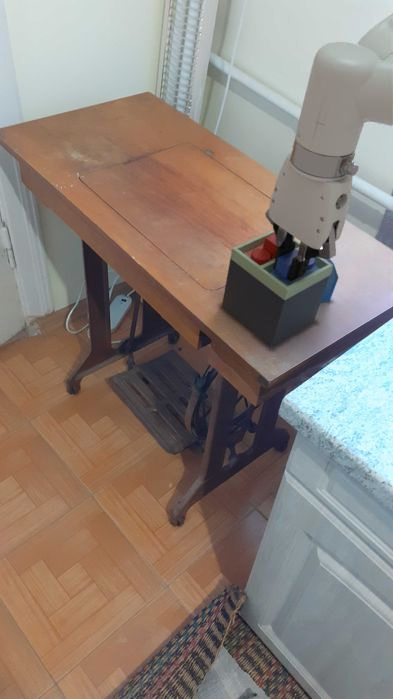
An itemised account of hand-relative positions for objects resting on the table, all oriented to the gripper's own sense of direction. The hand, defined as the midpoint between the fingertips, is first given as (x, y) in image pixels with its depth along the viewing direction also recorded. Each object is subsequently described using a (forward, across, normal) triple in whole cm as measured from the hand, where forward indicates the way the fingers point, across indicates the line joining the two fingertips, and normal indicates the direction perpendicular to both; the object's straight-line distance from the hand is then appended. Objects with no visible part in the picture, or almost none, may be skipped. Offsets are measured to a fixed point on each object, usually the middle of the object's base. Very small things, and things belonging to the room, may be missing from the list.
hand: (288, 271), depth 81 cm
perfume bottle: (+13, +3, -11) cm, 17 cm away
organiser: (+2, +3, -2) cm, 4 cm away
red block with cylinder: (+1, +6, -2) cm, 6 cm away
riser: (+13, +3, -2) cm, 13 cm away
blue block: (0, 0, -2) cm, 2 cm away
